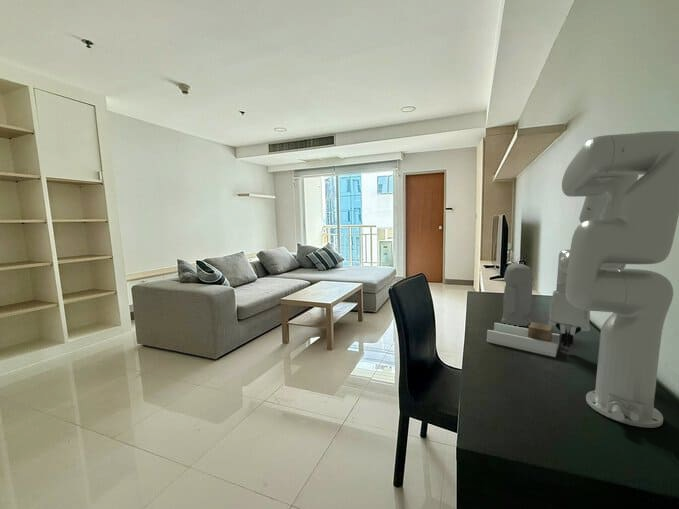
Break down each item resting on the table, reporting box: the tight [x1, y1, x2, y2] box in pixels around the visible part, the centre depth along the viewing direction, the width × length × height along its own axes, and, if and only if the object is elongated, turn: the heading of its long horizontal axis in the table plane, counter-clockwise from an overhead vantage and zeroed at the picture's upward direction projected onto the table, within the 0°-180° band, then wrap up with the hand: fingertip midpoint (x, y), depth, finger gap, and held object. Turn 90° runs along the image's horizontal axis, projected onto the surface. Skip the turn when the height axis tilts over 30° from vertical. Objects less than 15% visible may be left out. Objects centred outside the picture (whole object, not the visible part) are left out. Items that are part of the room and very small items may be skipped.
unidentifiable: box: [500, 263, 534, 327], centre depth 129 cm, size 15×10×25 cm
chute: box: [486, 322, 560, 358], centre depth 107 cm, size 20×12×4 cm, turn 51°
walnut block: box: [527, 321, 553, 342], centre depth 103 cm, size 6×7×6 cm
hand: (566, 345), depth 99 cm, fingers closed
